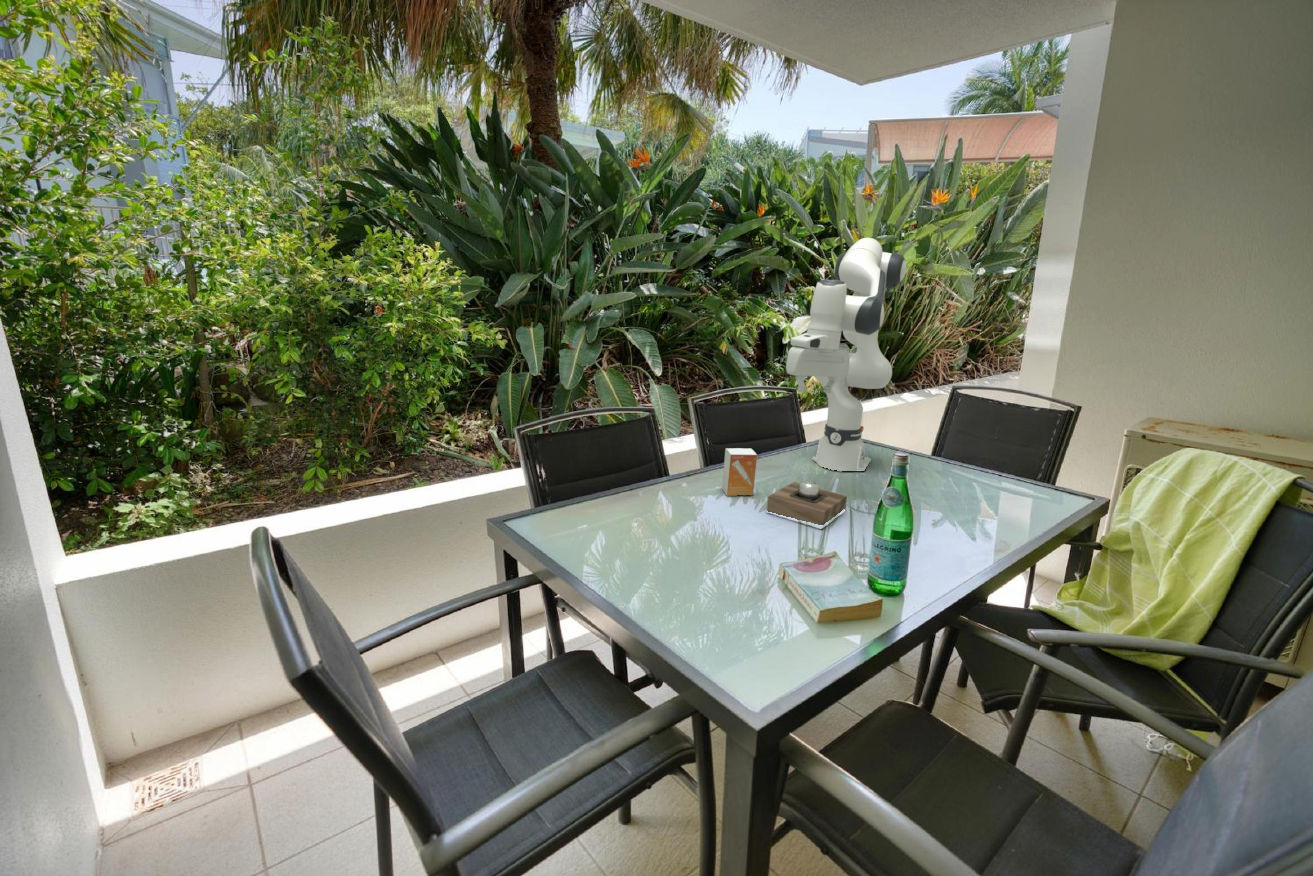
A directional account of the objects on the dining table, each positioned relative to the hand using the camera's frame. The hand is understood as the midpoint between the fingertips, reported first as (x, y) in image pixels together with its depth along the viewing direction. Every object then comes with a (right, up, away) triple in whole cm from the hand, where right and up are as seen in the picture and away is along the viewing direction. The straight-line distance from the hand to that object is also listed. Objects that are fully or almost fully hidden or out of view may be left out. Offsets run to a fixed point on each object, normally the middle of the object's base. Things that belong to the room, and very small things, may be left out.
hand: (814, 392), depth 168 cm
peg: (-1, -30, +2) cm, 30 cm away
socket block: (-2, -33, +3) cm, 33 cm away
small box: (-19, -29, +16) cm, 38 cm away
